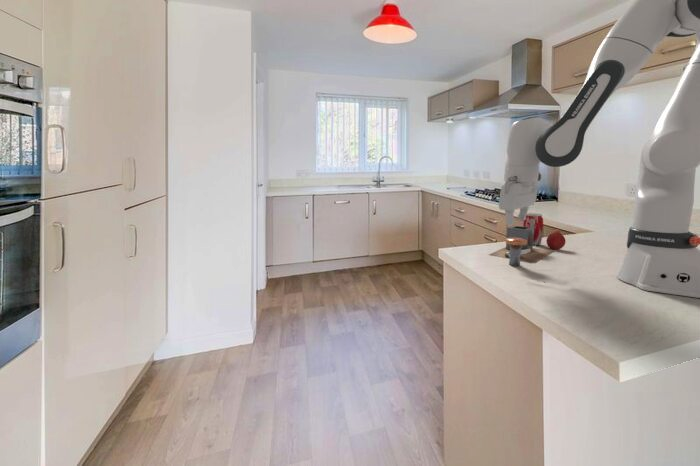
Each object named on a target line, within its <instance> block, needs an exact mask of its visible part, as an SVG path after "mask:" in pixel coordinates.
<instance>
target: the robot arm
mask: <svg viewBox="0 0 700 466" xmlns="http://www.w3.org/2000/svg"><path fill="white" fill-rule="evenodd" d="M694 35H695V36H696V37H695V38H696V45H695V47H694V48H695V49H694V52H693V53H692V55H691V56H690V59H689V60H688V62H687V64H686V65H685V68H684V70H683V72H682V73H681V76H680V77H679V79H678V82H677V83H676V85H675V87H674V89H673V91H672V92H671V95H670V97H669V98H668V101H667V103H666V105H665V107H664V109H663V111H662V112H661V115H660V117H659V118H658V121H657V122H656V125H655V127H654V129H653V131H652V133H651V134H650V137H649V139H648V140H647V142H646V143H645V144H644V145H643V147H642V150H641V151H640V152H641V153H640V158H639V159H640V160H639V165H638V167H639V168H638V176H637V182H636V193H635V201H634V208H633V215H632V221H631V226H630V227H629V228H628V229H629V230H628V231H627V236H626V237H627V238H626V247H627V249H626V253H625V256H624V259H623V263H622V265H621V267H620V268H619V271H618V273H617V275H616V278H617V279H619V280H621V281H622V282H625V283H627V284H630V285H632V286H636V287H637V288H639V289H641V290H644V291H648V292H649V291H650V292H653V293H654V292H655V293H662V294H668V295H676V296H683V297H691V298H697V299H698V298H699V299H700V249H699V248H697V247H698V246H699V245H700V236H698V235H697V234H695V233H693V232H691V231H690V224H691V219H692V213H693V207H694V202H695V196H694V195H695V182H696V169H697V167H699V166H700V0H634V1H633V2H632V3H630V5H629V6H628V8H626V9H625V11H624V12H623V13H622V15H620V17H619V18H618V20H617V21H616V22H615V23H614V24H613V26H612V27H611V29H610V30H609V31H608V32H607V35H606V36H605V37H604V38H603V40H602V42H601V43H600V45H599V47H598V48H597V49H596V52H595V54H594V56H593V57H592V60H591V62H590V64H589V67H588V70H587V74H586V77H585V80H584V83H583V85H582V86H581V88H580V90H579V92H578V93H577V94H576V96H575V97H574V99H573V100H572V102H571V103H570V104H569V106H568V108H567V109H566V110H565V112H564V113H563V115H562V116H561V117H560V118H559V119H558V121H556V122H555V123H553V124H552V123H551V122H548V121H547V120H544V118H542V117H540V116H529V117H525V118H521V119H519V120H516V121H514V123H513V124H511V127H510V129H509V133H508V137H507V145H506V154H507V159H506V162H505V167H504V177H503V182H504V183H503V184H502V185H501V189H500V193H499V198H498V199H499V200H498V208H499V210H500V211H504V215H505V218H506V219H505V224H506V225H509V226H511V225H512V226H513V225H514V224H515V218H514V217H515V216H514V214H515V210H518V209H519V213H518V217H517V221H520V222H523V221H524V220H526V214H528V211H529V207H531V206H534V205H535V204H536V200H537V196H538V192H539V182H541V181H542V173H541V172H540V170H539V169H540V163H542V164H544V165H546V166H549V167H551V168H552V167H553V168H558V167H559V168H561V167H564V166H567V165H569V164H571V163H573V162H574V161H576V159H577V158H578V157H579V156H580V154H581V152H582V150H583V147H584V140H585V134H586V132H587V130H588V128H589V127H590V125H591V124H592V123H593V120H594V119H595V118H596V116H597V115H598V114H599V112H600V111H601V110H602V108H603V106H604V104H605V103H606V102H607V101H608V99H609V98H610V97H611V96H612V95H613V94H614V93H615V92H616V91H618V90H619V89H620V88H621V87H624V86H625V85H627V84H628V83H629V82H630V81H631V80H632V79H633V78H634V77H635V76H636V75H637V74H638V73H639V72H640V71H641V69H643V67H644V66H645V64H647V62H648V61H649V59H650V58H651V57H652V55H653V54H654V52H655V50H656V49H657V48H658V46H659V45H660V43H661V42H662V41H663V40H664V39H665V37H673V38H685V37H691V36H694Z"/></svg>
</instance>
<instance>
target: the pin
mask: <svg viewBox="0 0 700 466" xmlns="http://www.w3.org/2000/svg"><path fill="white" fill-rule="evenodd" d="M505 244H510V245H511V246H510V259H508V260H509V262H508V263H509V266H511V267H521V261H520V258H521V246H522V245H527V240H526V239H523V238H507V237H506V238H505Z"/></svg>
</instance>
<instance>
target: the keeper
mask: <svg viewBox="0 0 700 466" xmlns="http://www.w3.org/2000/svg"><path fill="white" fill-rule="evenodd" d="M530 251H531V249H526V250H521V255H522V254H526V253H528V252H530ZM505 257H510V252H508V253H506V254H505Z"/></svg>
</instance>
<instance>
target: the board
mask: <svg viewBox="0 0 700 466" xmlns="http://www.w3.org/2000/svg"><path fill="white" fill-rule="evenodd" d="M508 252H510V250H506V246H505V247H503V248H500V249H498V250H496V251H494V252H492V253H489V254H488V256H491V257H498V258H504V259H507V260H509V259H510V257H505V254H506V253H508ZM553 253H555V251H554V250H548V249H541V248H535V247H533V249H532V250H531V251H530V252H528V253H526V254H522V255H521V258H520V262H521V261H522V262H527V263H533V264H537V263H539V262H540V261H541V260H543V259H545V258H546V257H548V256H550V255H551V254H553Z"/></svg>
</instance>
